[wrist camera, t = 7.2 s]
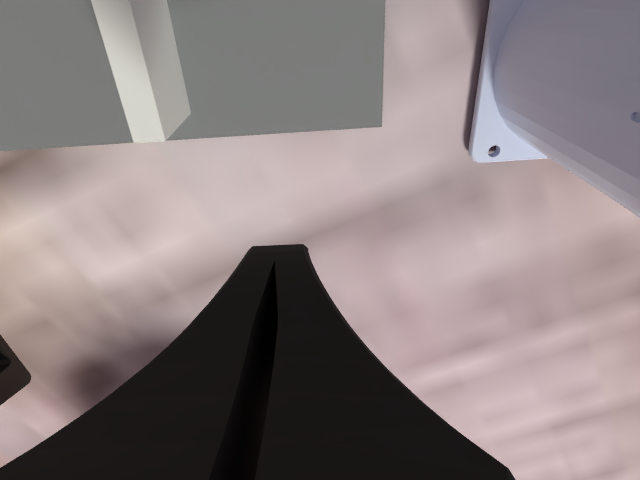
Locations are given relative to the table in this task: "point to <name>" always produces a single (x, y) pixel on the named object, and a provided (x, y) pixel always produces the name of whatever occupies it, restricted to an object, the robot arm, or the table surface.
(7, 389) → the phone stand
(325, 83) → the hinge base
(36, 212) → the table surface
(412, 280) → the table surface
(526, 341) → the table surface
